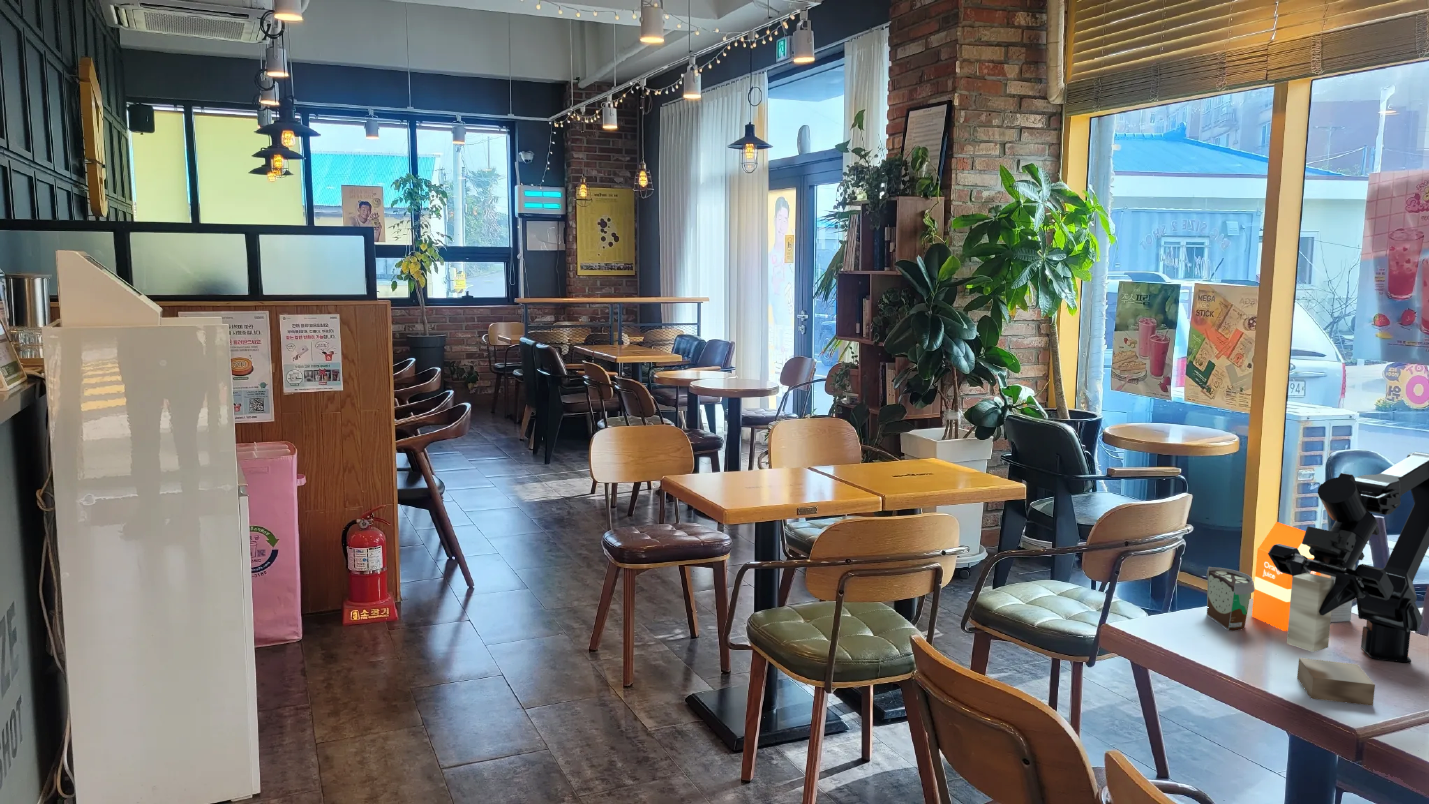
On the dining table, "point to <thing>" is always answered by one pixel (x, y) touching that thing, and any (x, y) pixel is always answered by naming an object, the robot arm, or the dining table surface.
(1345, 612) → the skincare box
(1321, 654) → the dining table surface
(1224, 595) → the food container
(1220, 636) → the dining table surface
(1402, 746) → the dining table surface
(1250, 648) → the dining table surface
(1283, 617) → the orange juice
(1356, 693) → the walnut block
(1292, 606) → the birch pillar
